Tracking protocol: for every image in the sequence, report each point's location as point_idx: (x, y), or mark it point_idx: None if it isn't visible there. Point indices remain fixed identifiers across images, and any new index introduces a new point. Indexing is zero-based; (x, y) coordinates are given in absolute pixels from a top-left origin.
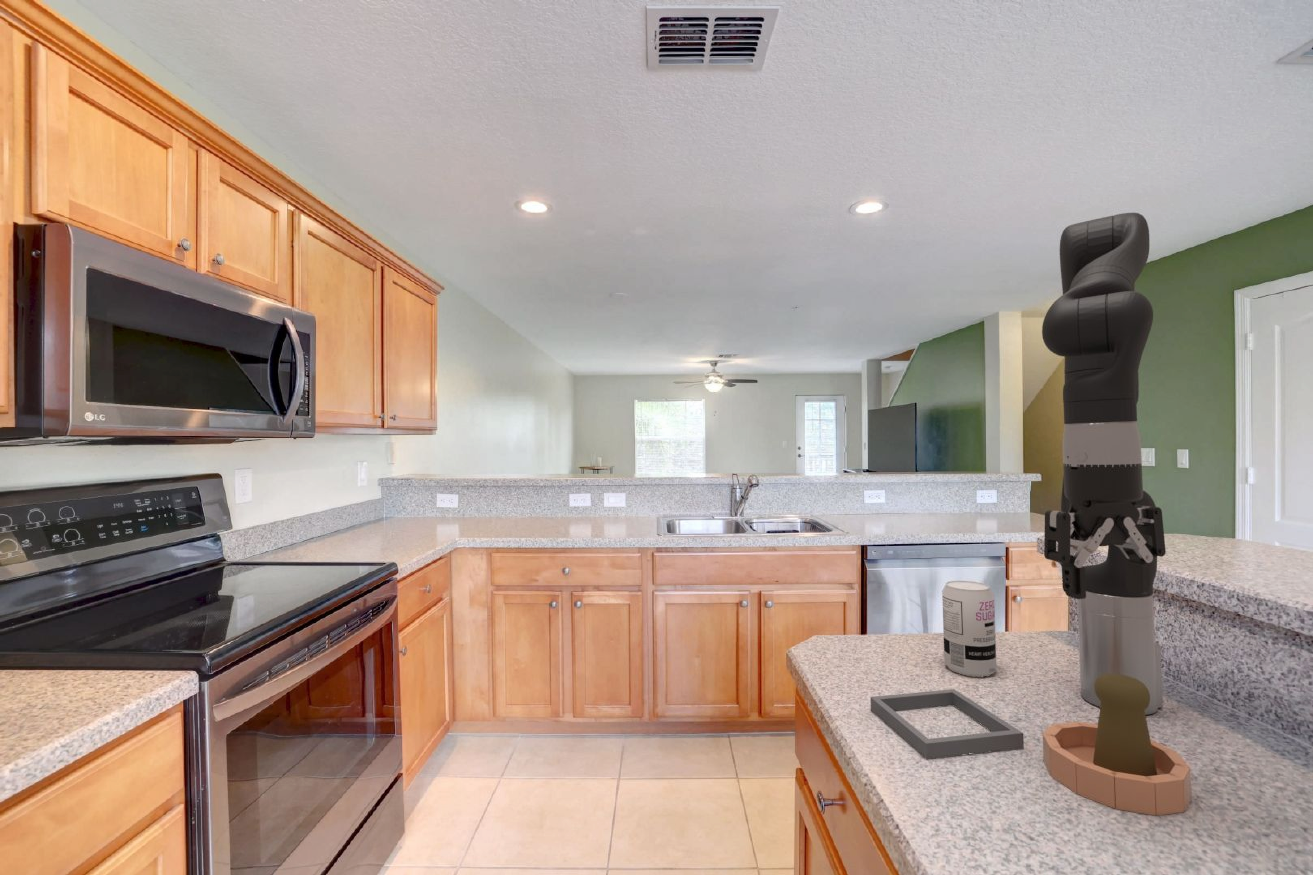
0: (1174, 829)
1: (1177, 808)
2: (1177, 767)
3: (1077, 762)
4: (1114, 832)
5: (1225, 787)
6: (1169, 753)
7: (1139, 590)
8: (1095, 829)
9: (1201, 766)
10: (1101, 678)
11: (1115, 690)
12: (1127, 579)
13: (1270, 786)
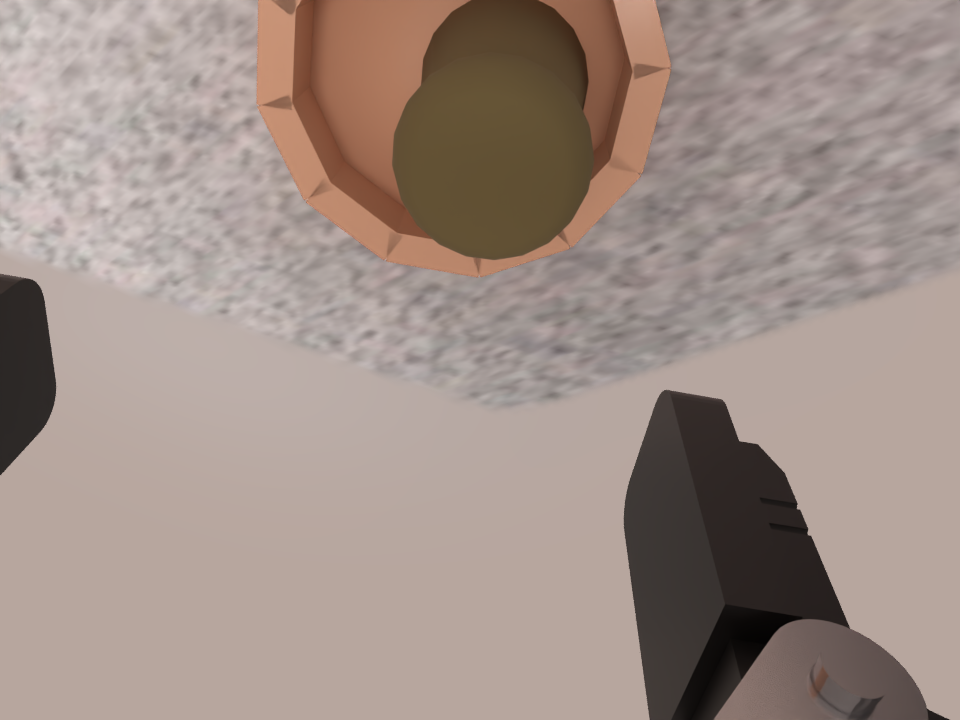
0: (386, 271)
1: None
2: None
3: (265, 105)
4: (236, 230)
5: (719, 215)
6: (608, 176)
7: (633, 497)
8: (201, 207)
9: (804, 122)
10: (425, 125)
11: (402, 200)
12: (680, 454)
13: (836, 254)
